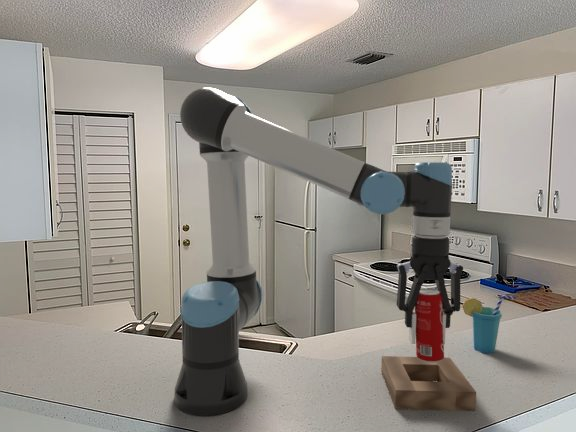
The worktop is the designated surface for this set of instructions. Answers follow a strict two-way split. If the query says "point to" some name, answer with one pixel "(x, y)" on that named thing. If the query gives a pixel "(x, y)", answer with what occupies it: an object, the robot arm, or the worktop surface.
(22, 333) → the worktop surface
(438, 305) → the beverage can
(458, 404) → the socket
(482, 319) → the cup
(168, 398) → the worktop surface
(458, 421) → the worktop surface
